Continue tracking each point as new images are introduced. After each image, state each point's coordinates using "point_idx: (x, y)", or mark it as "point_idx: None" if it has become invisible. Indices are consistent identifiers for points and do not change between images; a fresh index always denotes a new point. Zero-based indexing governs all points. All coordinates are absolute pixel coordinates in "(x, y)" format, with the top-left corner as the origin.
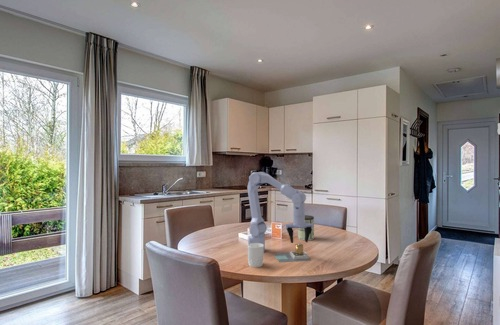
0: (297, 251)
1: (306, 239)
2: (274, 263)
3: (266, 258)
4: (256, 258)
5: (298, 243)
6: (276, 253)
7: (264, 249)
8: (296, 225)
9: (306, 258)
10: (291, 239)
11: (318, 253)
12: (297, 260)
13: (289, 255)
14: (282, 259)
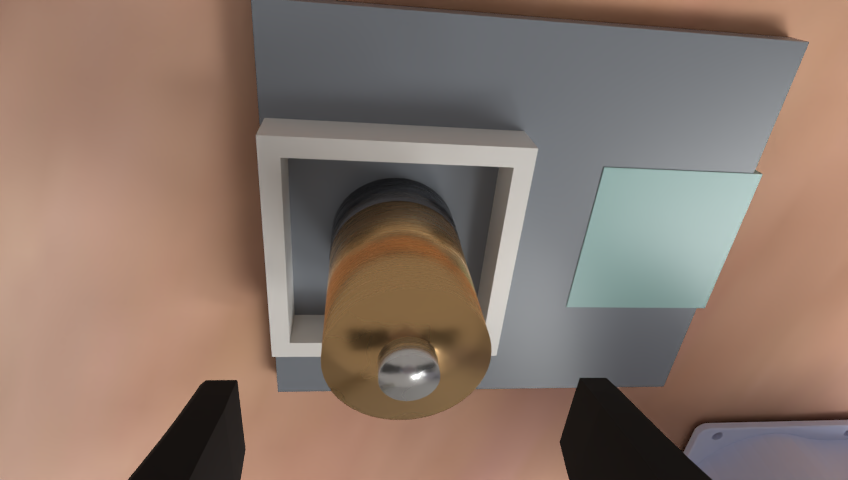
0: (454, 246)
1: (214, 436)
2: (834, 87)
3: (797, 285)
4: None
5: (415, 398)
6: (630, 383)
7: (717, 477)
8: None
9: (312, 122)
10: (666, 437)
11: (43, 355)
12: (497, 68)
13: (511, 299)
14: (690, 165)
